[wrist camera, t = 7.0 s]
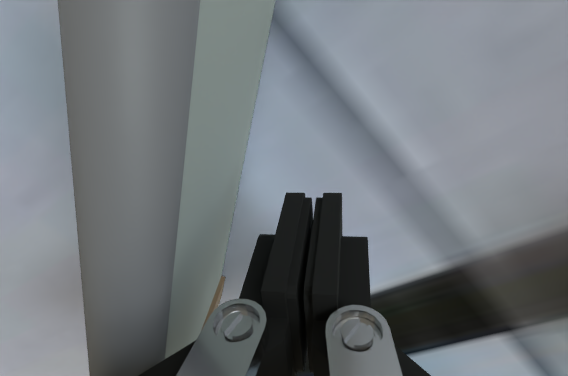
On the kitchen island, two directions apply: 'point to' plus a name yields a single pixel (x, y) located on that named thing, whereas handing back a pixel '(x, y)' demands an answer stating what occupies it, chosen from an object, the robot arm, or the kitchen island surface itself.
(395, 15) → the kitchen island surface
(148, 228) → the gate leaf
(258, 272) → the robot arm
